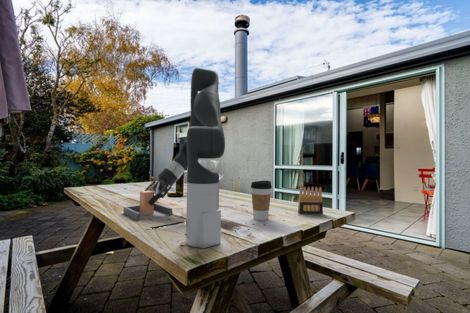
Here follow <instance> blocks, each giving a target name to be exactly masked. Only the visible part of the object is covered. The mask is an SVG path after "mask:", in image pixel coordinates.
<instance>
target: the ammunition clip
mask: <svg viewBox="0 0 470 313" xmlns="http://www.w3.org/2000/svg"><path fill="white" fill-rule="evenodd" d="M322 191H323V190H322V187H321V186H319V188H318V187H317V186H315V189H314V186H311V189H310V186H307V187H306V186H304V187H302V186H300V187H299V196H298V206H297V208H298V209H297V210H298V211H297V213H298V214H300V215H323V214H324V210H323V209H324V207H323V206H324V203H323V194H322V193H323V192H322ZM305 213H307V214H305Z"/></svg>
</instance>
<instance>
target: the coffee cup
mask: <svg viewBox="0 0 470 313" xmlns="http://www.w3.org/2000/svg"><path fill="white" fill-rule="evenodd" d="M272 187H273V186H272V182H271V180H258V181H251V185H250V189H251V202H252V213H253V214H252V215H253V217H252V218H253V220H256V221H266V220H268V219H269V212H270V202H271V196H272V195H271V191H272V190H271V189H272Z"/></svg>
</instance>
